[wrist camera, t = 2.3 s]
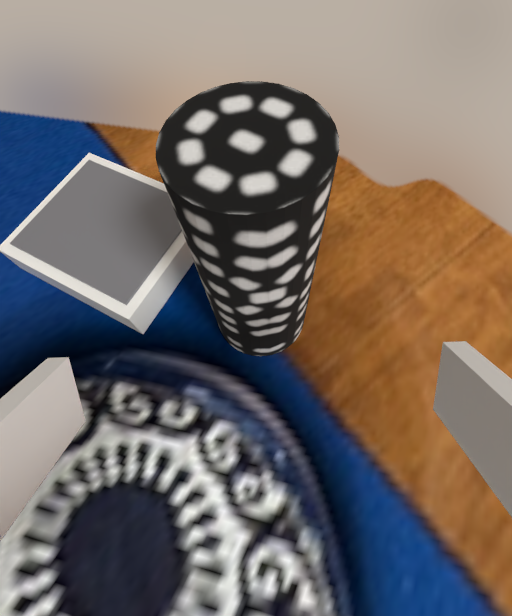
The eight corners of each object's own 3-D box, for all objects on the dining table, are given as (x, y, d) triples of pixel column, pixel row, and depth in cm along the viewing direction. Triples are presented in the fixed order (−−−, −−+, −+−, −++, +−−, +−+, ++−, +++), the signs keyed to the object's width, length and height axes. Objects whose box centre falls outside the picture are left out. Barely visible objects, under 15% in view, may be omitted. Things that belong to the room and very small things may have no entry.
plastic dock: (21, 268, 38) (-6, 247, 34) (103, 177, 43) (87, 150, 39) (143, 334, 34) (127, 318, 30) (218, 226, 39) (212, 201, 35)
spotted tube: (320, 302, 35) (371, 117, 16) (274, 373, 32) (275, 247, 14) (248, 263, 37) (224, 62, 19) (200, 327, 34) (117, 165, 16)
